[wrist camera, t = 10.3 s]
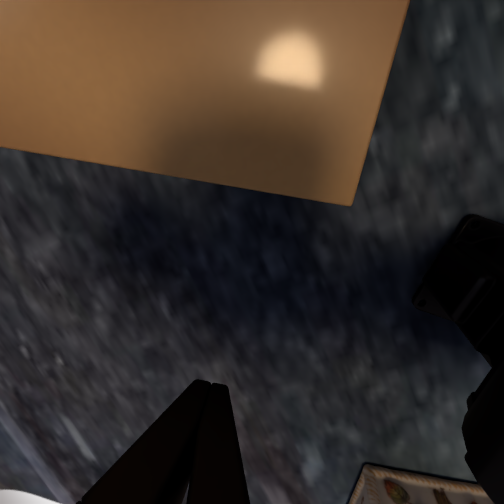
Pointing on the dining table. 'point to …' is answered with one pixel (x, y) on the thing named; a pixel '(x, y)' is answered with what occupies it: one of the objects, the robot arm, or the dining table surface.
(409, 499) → the decorative jar
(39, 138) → the cabinet
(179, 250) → the dining table surface
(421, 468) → the dining table surface
